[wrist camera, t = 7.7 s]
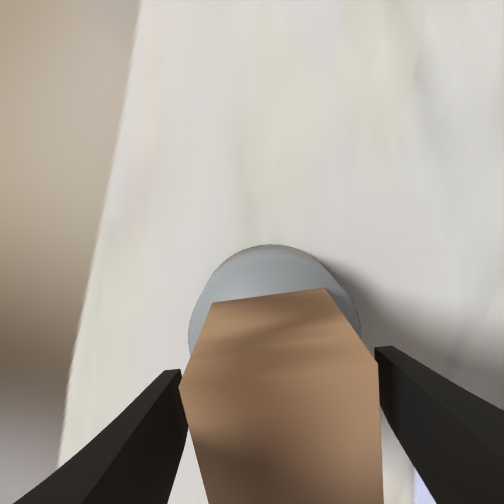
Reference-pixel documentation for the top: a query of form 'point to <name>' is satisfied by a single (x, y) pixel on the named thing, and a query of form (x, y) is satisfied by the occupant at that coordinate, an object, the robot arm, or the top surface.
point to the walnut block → (284, 403)
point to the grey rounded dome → (268, 282)
